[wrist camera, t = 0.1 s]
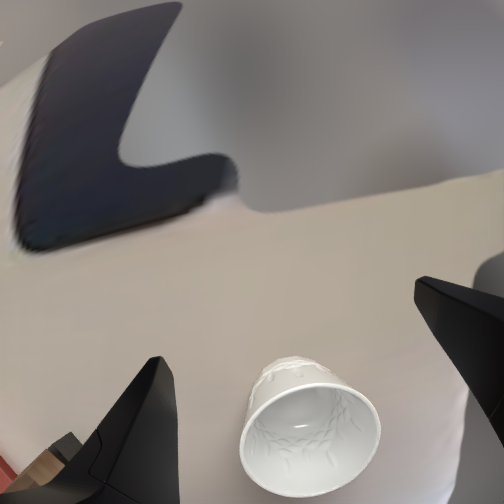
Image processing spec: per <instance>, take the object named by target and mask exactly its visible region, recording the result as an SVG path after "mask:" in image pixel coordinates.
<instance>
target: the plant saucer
mask: <svg viewBox="0 0 504 504" xmlns="http://www.w3.org/2000/svg"><path fill="white" fill-rule="evenodd" d="M17 476H18V475H17V474H16V473H15V472H14V471H13V470H12V468H11V467H10V466H9V465H8V464H7V463H6V462H5V460H4V459H3V458H2V457H1V456H0V494H1V493H3V492H4V491H5V489H6V488H7V487H8V486H9V484H10V483H11V482H12V481H13V480H14V479H15V478H16V477H17Z"/></svg>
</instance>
